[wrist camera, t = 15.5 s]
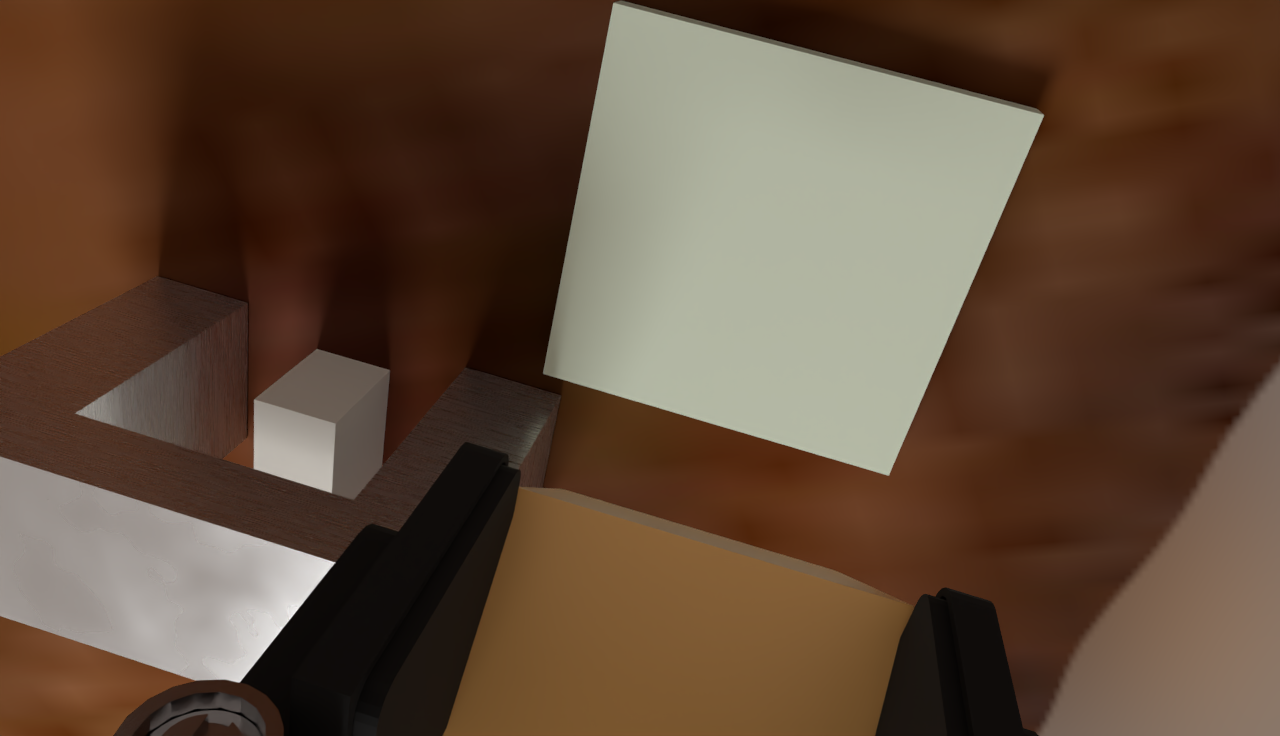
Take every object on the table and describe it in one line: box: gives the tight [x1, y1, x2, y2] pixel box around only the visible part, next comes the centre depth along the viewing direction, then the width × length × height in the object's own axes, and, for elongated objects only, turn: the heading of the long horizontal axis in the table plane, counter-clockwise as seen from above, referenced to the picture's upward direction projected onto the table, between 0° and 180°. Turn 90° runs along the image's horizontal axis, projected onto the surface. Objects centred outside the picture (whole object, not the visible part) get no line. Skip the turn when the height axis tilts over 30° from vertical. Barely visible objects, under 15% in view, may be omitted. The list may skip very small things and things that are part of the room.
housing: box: [0, 276, 561, 683], centre depth 24 cm, size 5×13×9 cm, turn 78°
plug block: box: [443, 487, 914, 736], centre depth 13 cm, size 5×5×5 cm
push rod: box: [254, 349, 390, 500], centre depth 29 cm, size 15×2×4 cm, turn 168°
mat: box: [543, 0, 1044, 475], centre depth 23 cm, size 10×10×1 cm
